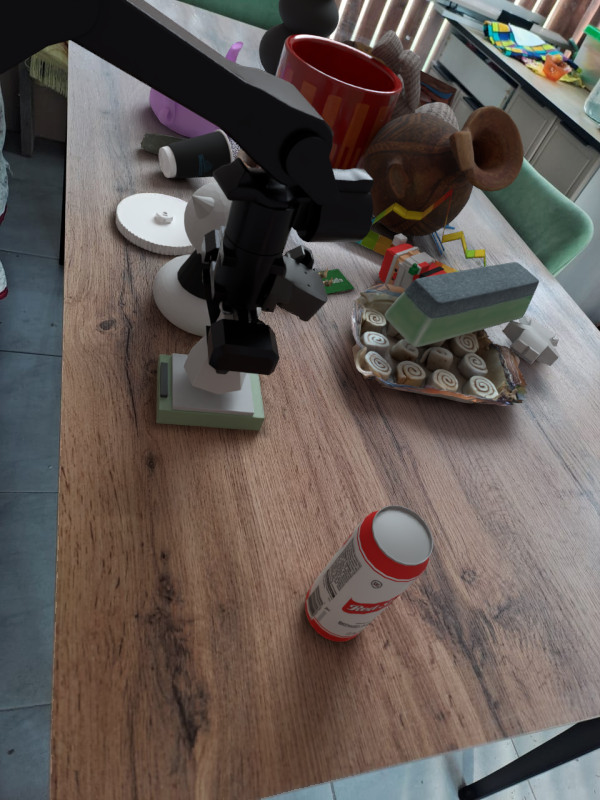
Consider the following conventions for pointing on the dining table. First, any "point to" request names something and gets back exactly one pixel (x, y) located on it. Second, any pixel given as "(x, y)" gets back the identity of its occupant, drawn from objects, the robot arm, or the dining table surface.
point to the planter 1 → (341, 92)
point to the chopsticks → (439, 238)
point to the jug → (440, 165)
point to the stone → (157, 142)
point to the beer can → (369, 572)
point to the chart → (383, 243)
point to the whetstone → (461, 302)
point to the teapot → (185, 109)
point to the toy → (408, 79)
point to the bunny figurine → (532, 340)
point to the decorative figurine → (192, 264)
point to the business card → (337, 282)
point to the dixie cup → (196, 156)
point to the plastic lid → (154, 223)
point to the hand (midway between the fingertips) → (219, 356)
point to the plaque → (435, 90)
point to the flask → (210, 369)
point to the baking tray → (432, 358)
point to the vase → (297, 27)
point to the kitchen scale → (205, 400)
